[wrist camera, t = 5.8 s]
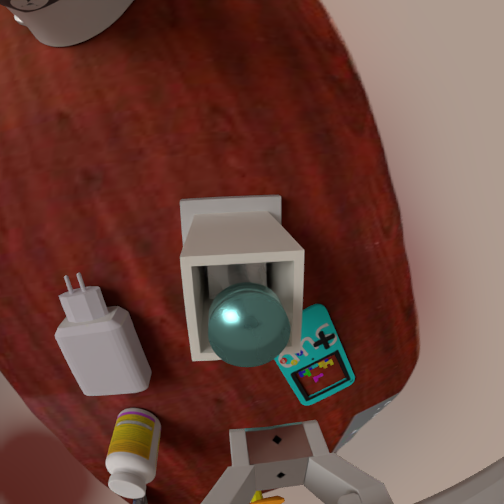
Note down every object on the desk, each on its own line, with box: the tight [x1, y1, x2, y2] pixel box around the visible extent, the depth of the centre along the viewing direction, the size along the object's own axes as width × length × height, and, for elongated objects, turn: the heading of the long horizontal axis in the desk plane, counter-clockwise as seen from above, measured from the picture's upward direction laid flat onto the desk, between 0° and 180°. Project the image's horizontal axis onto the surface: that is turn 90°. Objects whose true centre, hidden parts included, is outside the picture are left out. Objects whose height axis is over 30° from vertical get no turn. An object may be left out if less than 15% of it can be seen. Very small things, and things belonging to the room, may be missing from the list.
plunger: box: [207, 262, 291, 367], centre depth 23 cm, size 5×5×12 cm
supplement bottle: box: [106, 408, 161, 499], centre depth 34 cm, size 7×7×13 cm
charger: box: [55, 273, 152, 396], centre depth 33 cm, size 5×9×15 cm
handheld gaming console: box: [274, 304, 355, 405], centre depth 40 cm, size 8×1×15 cm
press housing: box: [180, 195, 304, 361], centre depth 27 cm, size 10×10×16 cm
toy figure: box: [249, 490, 285, 504], centre depth 40 cm, size 7×4×12 cm, turn 105°
